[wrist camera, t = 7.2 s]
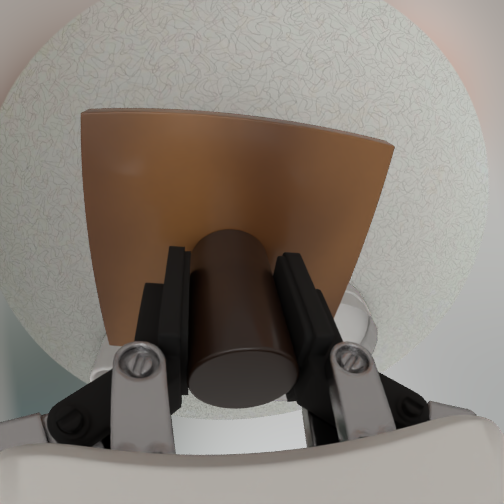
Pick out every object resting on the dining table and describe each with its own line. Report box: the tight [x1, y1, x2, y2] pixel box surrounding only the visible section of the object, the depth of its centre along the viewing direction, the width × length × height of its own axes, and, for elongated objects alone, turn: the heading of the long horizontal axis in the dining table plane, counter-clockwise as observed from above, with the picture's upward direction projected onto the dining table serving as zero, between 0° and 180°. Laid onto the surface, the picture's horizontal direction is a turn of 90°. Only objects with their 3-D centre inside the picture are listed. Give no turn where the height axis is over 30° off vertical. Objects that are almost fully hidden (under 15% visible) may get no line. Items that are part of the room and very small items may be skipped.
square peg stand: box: [81, 108, 395, 408], centre depth 11 cm, size 11×11×6 cm
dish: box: [274, 283, 377, 401], centre depth 43 cm, size 22×22×5 cm
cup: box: [90, 334, 122, 382], centre depth 39 cm, size 11×8×8 cm
